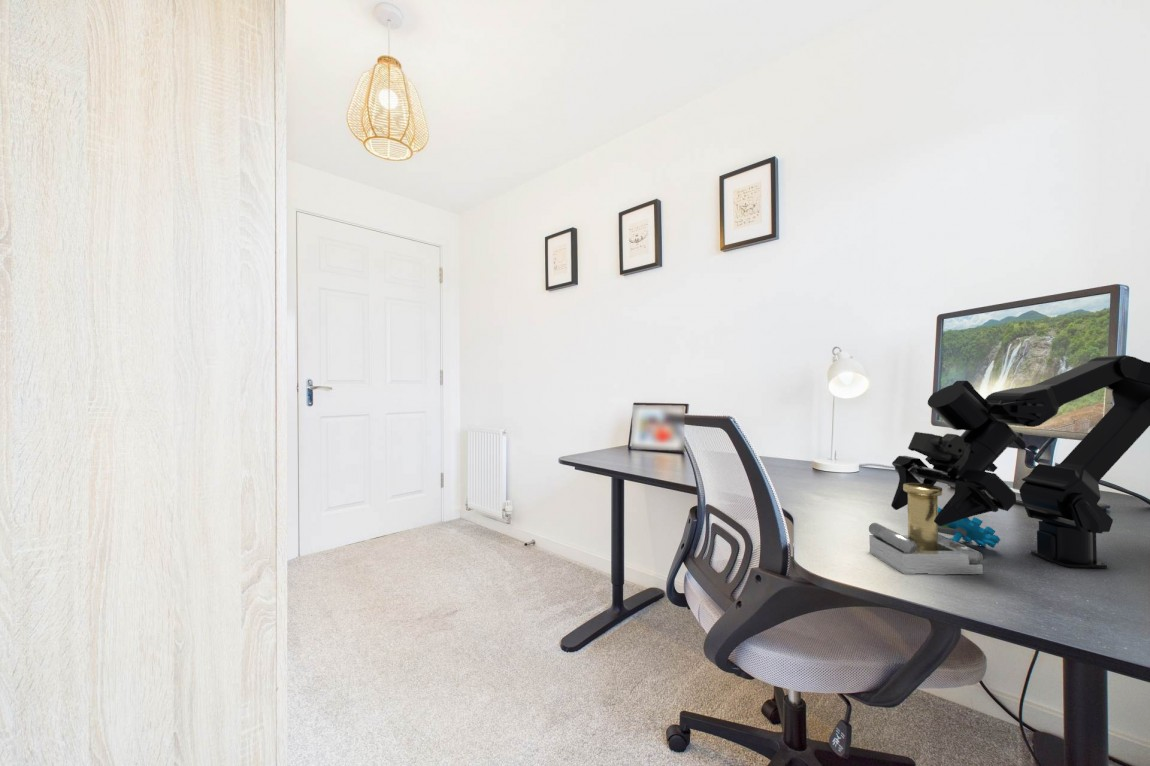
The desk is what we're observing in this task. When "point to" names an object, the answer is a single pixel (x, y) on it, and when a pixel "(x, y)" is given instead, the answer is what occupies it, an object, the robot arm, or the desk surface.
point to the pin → (923, 515)
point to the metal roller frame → (923, 554)
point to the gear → (970, 531)
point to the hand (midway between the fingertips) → (913, 515)
